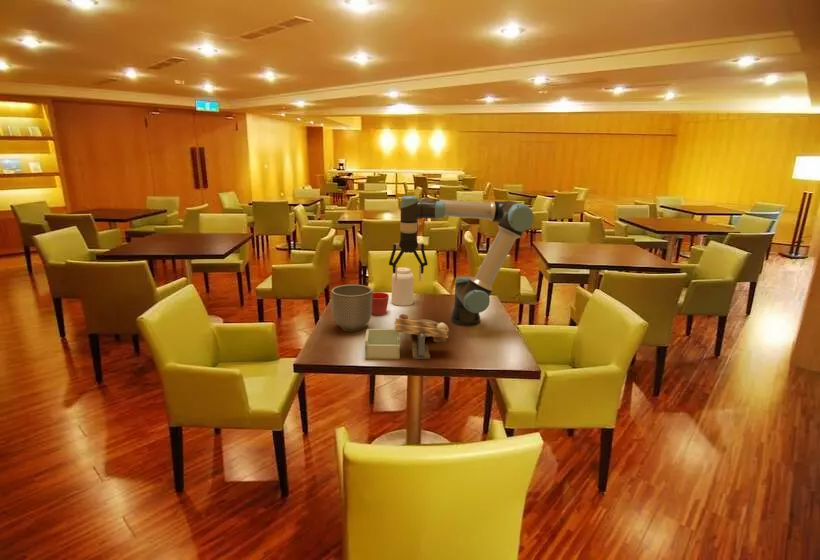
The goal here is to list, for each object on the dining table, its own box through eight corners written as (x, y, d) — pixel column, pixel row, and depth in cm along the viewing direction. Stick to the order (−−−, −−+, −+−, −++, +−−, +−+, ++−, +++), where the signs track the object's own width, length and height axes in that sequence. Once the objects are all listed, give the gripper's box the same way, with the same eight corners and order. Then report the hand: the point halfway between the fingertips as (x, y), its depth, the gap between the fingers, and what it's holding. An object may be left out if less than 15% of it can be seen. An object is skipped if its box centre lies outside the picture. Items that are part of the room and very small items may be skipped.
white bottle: (389, 305, 250) (389, 270, 245) (393, 298, 262) (394, 265, 257) (411, 307, 248) (412, 271, 243) (415, 300, 260) (416, 266, 255)
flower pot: (392, 311, 240) (393, 294, 238) (380, 317, 231) (380, 299, 229) (376, 308, 246) (376, 291, 243) (364, 313, 237) (364, 296, 234)
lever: (442, 327, 204) (444, 315, 203) (446, 343, 186) (449, 330, 185) (393, 321, 202) (395, 309, 201) (394, 337, 185) (396, 324, 183)
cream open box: (399, 346, 197) (399, 329, 195) (399, 359, 184) (399, 341, 182) (366, 346, 196) (366, 329, 194) (365, 359, 184) (365, 340, 182)
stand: (427, 346, 197) (428, 322, 194) (430, 358, 185) (430, 333, 182) (411, 346, 197) (412, 322, 194) (412, 358, 185) (413, 333, 182)
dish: (440, 344, 200) (441, 333, 198) (408, 343, 200) (408, 332, 199) (439, 329, 217) (440, 320, 215) (409, 328, 217) (410, 319, 216)
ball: (437, 330, 191) (446, 329, 191) (438, 334, 187) (447, 332, 187) (435, 321, 190) (445, 320, 190) (436, 325, 186) (446, 323, 186)
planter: (336, 320, 226) (335, 283, 221) (375, 321, 226) (375, 284, 221) (327, 335, 207) (326, 295, 202) (370, 336, 207) (370, 296, 202)
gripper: (433, 230, 203) (432, 278, 209) (383, 230, 202) (383, 277, 208) (435, 233, 196) (433, 282, 202) (382, 232, 195) (382, 282, 201)
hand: (407, 280), depth 205 cm, fingers open, 10 cm apart
